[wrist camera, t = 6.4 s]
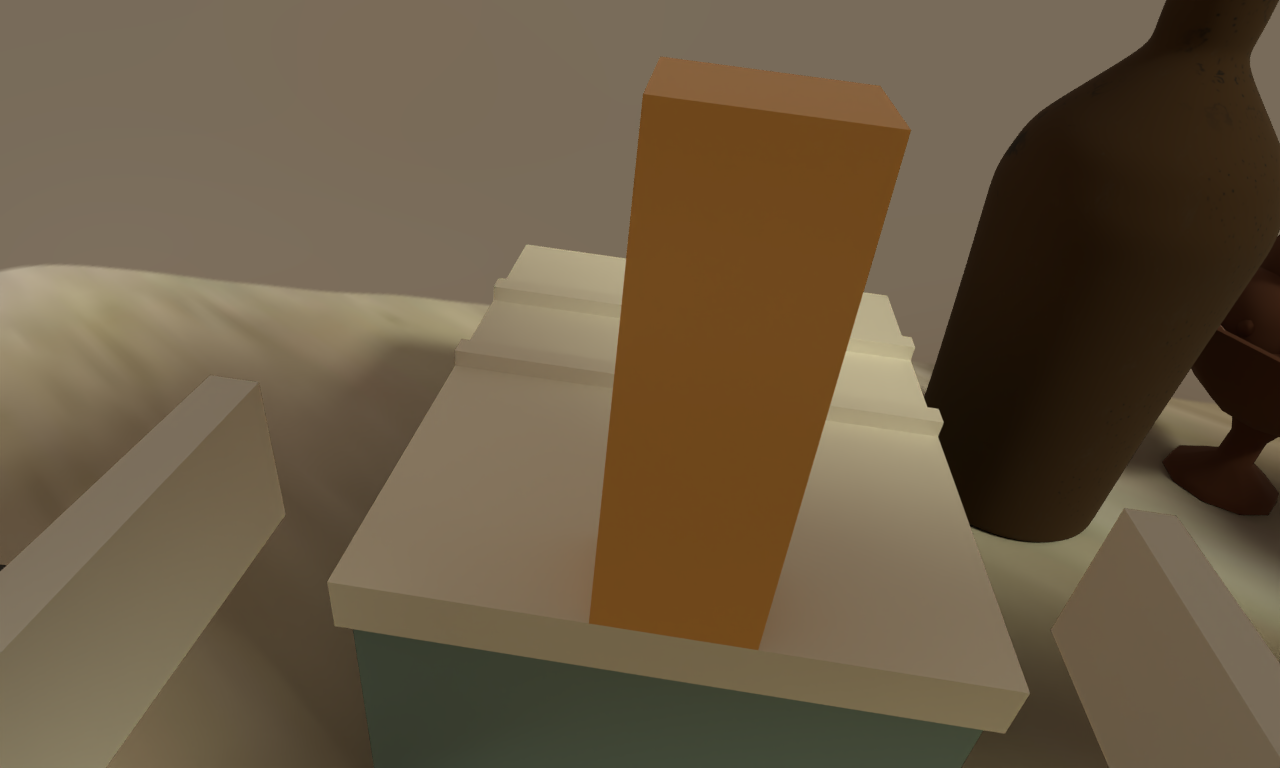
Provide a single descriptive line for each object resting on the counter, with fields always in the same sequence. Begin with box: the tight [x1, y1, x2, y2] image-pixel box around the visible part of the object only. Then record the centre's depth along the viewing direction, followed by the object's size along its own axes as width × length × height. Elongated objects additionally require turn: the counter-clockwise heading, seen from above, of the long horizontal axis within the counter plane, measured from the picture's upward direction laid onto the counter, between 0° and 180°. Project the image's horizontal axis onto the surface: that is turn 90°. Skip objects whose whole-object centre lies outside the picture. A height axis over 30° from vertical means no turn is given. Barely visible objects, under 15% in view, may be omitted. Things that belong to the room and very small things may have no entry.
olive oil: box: [924, 0, 1280, 542], centre depth 34 cm, size 11×11×25 cm
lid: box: [327, 57, 1030, 734], centre depth 24 cm, size 17×21×14 cm
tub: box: [353, 629, 983, 768], centre depth 30 cm, size 16×20×8 cm
